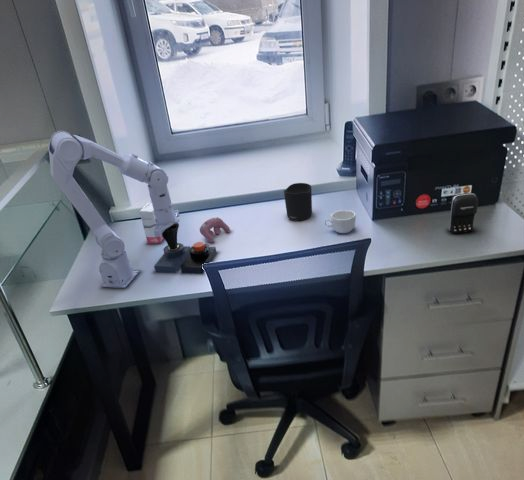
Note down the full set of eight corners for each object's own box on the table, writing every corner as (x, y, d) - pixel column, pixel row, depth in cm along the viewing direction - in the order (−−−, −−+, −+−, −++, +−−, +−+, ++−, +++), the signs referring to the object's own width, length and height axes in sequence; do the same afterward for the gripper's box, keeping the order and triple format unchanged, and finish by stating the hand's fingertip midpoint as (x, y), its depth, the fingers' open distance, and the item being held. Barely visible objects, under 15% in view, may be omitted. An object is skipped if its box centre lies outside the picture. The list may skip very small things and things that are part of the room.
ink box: (161, 243, 172) (151, 211, 165) (147, 244, 173) (138, 211, 166) (169, 232, 178) (161, 200, 171) (156, 232, 180) (147, 201, 172)
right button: (202, 252, 155) (201, 247, 154) (192, 252, 156) (191, 247, 155) (206, 246, 158) (205, 241, 157) (196, 246, 159) (195, 241, 158)
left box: (175, 272, 155) (172, 261, 152) (155, 272, 157) (152, 260, 154) (191, 252, 164) (188, 241, 162) (172, 251, 166) (169, 241, 164)
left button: (177, 254, 158) (176, 249, 157) (167, 254, 160) (165, 249, 158) (181, 249, 161) (180, 244, 160) (171, 249, 162) (170, 244, 161)
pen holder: (282, 214, 178) (279, 187, 172) (307, 208, 180) (305, 180, 174) (291, 224, 171) (289, 196, 165) (317, 217, 173) (315, 189, 166)
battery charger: (451, 235, 151) (455, 199, 144) (447, 230, 154) (452, 194, 147) (475, 233, 151) (480, 196, 143) (471, 227, 154) (476, 191, 146)
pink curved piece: (224, 233, 175) (214, 215, 173) (232, 230, 172) (222, 211, 170) (205, 245, 170) (194, 227, 168) (212, 242, 166) (202, 223, 164)
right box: (202, 273, 152) (199, 262, 150) (181, 273, 154) (178, 261, 152) (216, 252, 162) (214, 241, 159) (197, 252, 164) (194, 241, 161)
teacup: (354, 224, 165) (354, 208, 162) (357, 234, 159) (356, 218, 156) (324, 226, 166) (323, 211, 163) (325, 237, 160) (324, 221, 157)
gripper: (164, 217, 144) (175, 258, 153) (183, 196, 155) (193, 236, 163) (143, 217, 146) (155, 258, 155) (163, 196, 157) (173, 236, 165)
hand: (173, 247), depth 159 cm, fingers closed, pressing on left button
